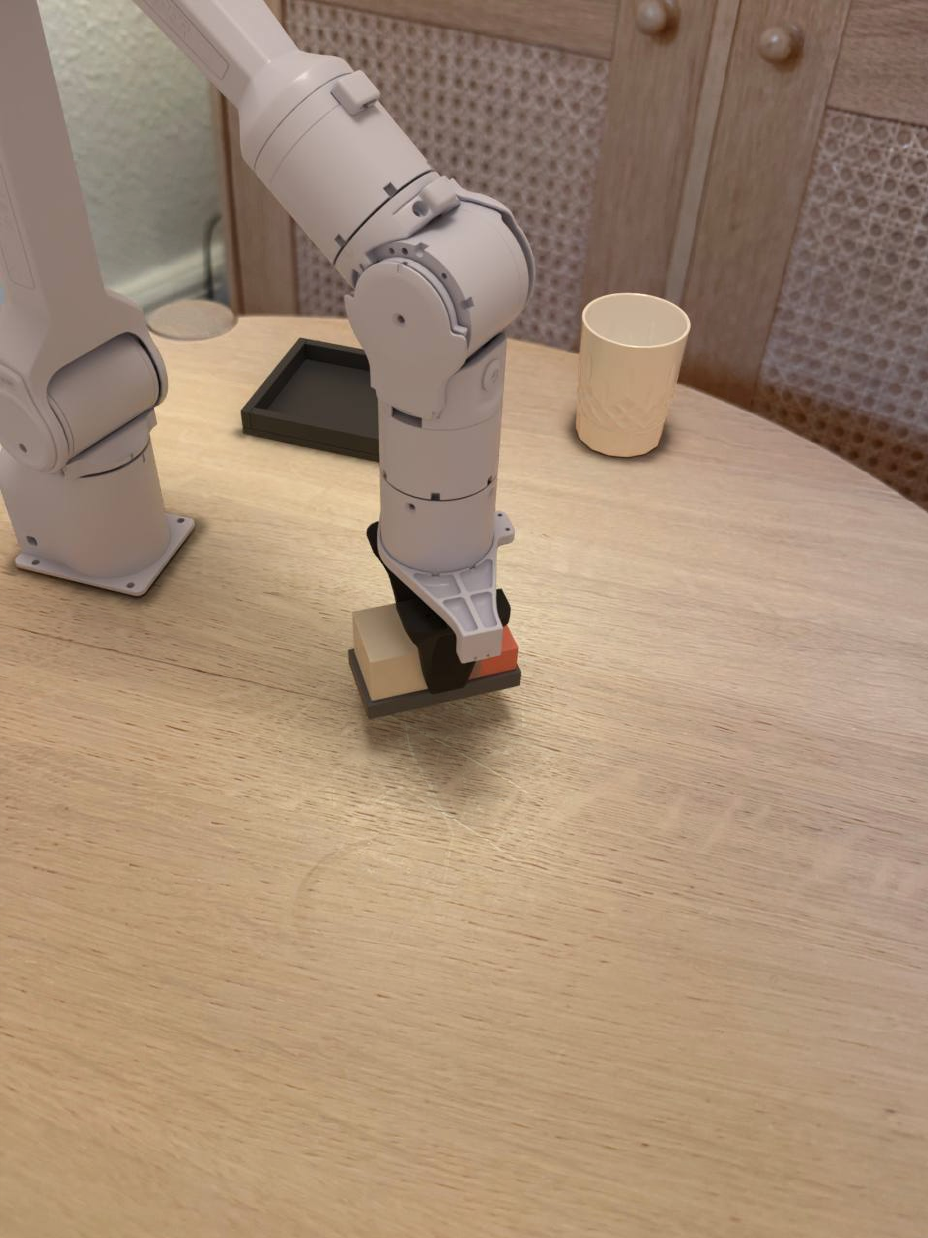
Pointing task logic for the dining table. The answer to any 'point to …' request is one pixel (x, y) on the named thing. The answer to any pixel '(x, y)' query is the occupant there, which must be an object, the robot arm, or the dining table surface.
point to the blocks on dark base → (413, 666)
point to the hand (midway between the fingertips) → (434, 658)
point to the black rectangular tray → (318, 401)
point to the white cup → (628, 371)
